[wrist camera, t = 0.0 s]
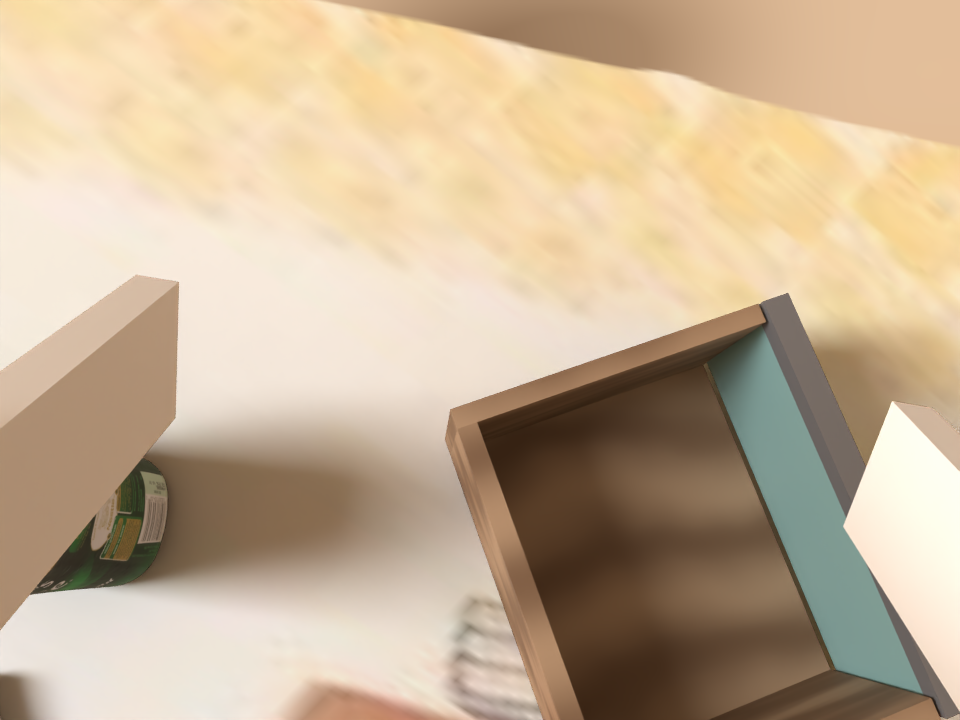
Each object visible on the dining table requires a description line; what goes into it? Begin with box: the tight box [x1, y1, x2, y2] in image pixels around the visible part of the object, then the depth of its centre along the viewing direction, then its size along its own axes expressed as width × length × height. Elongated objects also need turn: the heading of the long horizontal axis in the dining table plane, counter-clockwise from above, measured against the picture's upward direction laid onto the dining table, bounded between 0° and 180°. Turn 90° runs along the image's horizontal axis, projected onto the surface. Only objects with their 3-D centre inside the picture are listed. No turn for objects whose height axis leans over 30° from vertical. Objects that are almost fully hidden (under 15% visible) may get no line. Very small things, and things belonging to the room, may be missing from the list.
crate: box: [445, 304, 941, 720], centre depth 45 cm, size 21×16×11 cm
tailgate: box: [707, 293, 960, 719], centre depth 46 cm, size 21×1×10 cm, turn 20°
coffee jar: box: [30, 458, 168, 595], centre depth 40 cm, size 10×8×19 cm
